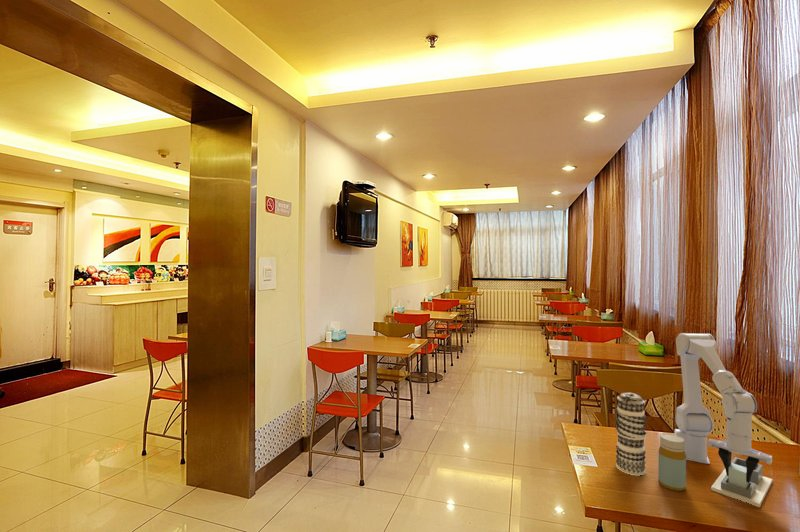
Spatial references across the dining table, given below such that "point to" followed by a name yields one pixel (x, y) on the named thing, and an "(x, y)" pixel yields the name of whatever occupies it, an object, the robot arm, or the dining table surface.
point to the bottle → (672, 462)
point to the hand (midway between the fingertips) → (738, 478)
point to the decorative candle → (630, 434)
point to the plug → (738, 476)
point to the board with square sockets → (752, 495)
